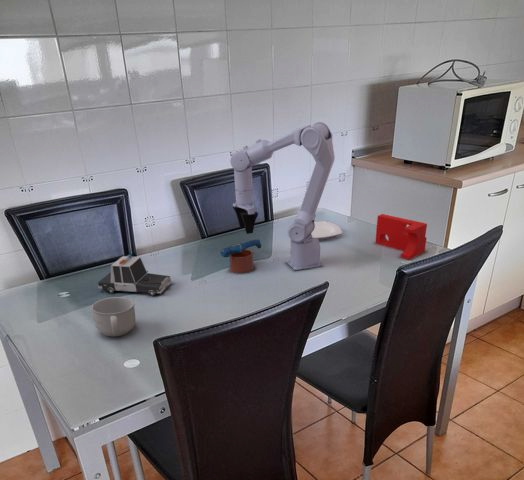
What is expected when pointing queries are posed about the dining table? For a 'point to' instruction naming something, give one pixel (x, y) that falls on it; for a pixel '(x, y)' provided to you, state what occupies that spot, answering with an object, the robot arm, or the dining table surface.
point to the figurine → (239, 247)
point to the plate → (325, 230)
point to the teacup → (114, 315)
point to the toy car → (133, 277)
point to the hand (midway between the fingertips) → (246, 229)
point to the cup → (242, 262)
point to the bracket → (401, 235)
